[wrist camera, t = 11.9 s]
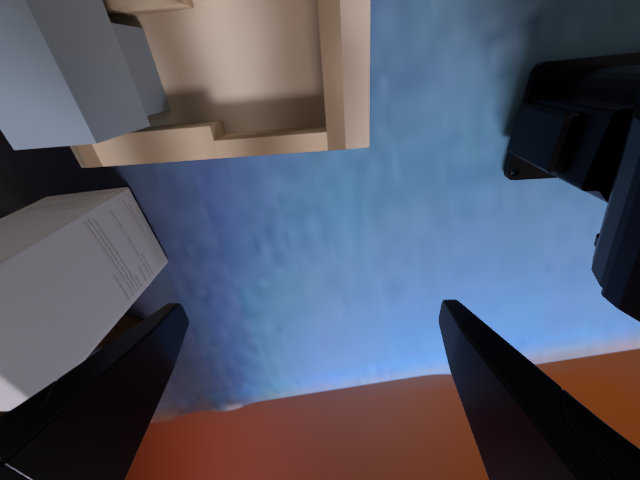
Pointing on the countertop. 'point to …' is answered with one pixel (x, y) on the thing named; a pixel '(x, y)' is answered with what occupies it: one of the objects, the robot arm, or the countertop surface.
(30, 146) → the grey rectangular block
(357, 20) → the divided wooden tray
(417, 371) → the countertop surface
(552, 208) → the countertop surface
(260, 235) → the countertop surface
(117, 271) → the supplement box
